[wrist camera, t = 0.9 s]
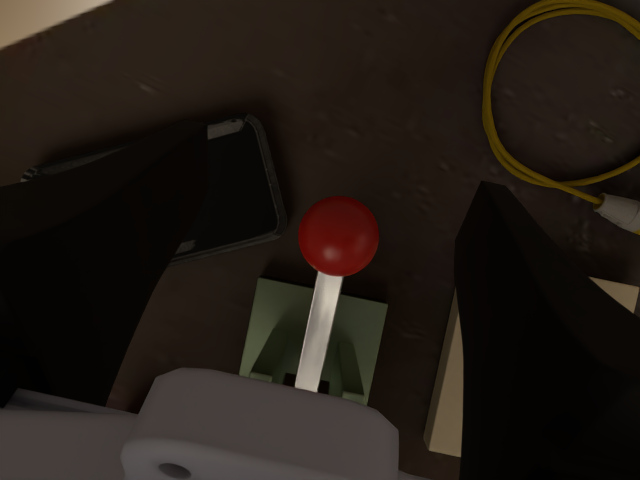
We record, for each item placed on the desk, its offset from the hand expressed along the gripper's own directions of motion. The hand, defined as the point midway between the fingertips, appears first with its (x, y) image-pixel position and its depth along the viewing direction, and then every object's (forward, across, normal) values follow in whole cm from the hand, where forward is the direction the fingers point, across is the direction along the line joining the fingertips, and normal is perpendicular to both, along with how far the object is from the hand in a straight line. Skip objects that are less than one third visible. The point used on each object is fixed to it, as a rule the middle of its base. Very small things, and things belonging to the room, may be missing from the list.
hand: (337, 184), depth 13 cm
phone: (+12, +11, +12) cm, 20 cm away
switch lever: (+4, 0, +10) cm, 11 cm away
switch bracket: (+7, 0, +19) cm, 20 cm away
